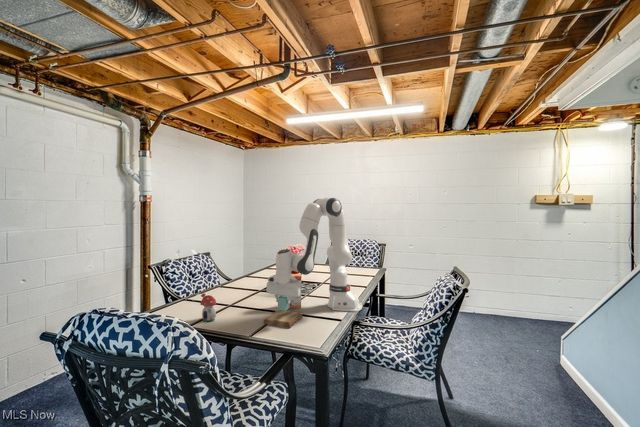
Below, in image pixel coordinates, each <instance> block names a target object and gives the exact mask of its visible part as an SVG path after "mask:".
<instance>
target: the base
mask: <svg viewBox="0 0 640 427" xmlns="http://www.w3.org/2000/svg"><path fill="white" fill-rule="evenodd" d="M302 318H303V313H302V312H298V311H293V310H286V311H282V310H278V309H276V311H274V312H273V313H271V314H269V315H268V316H266V317H265V319H263V324H264V325H269V326H274V327H279V328H286V329H292V328H293V326H294V325H295V324H296V323H298V322H299V321H300V320H301V319H302Z"/></svg>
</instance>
